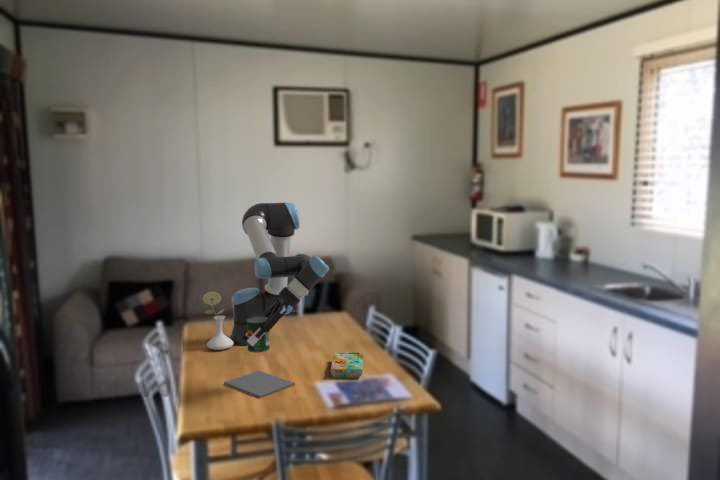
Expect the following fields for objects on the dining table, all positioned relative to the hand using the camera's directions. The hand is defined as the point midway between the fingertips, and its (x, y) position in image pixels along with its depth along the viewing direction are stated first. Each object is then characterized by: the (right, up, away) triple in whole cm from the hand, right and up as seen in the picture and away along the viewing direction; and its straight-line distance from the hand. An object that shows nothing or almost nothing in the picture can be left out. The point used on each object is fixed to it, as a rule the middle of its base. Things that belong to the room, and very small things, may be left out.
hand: (248, 340), depth 205 cm
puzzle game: (+35, -15, +19) cm, 42 cm away
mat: (+3, -16, +3) cm, 17 cm away
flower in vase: (-22, -12, +47) cm, 53 cm away
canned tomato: (+3, -4, +1) cm, 5 cm away
